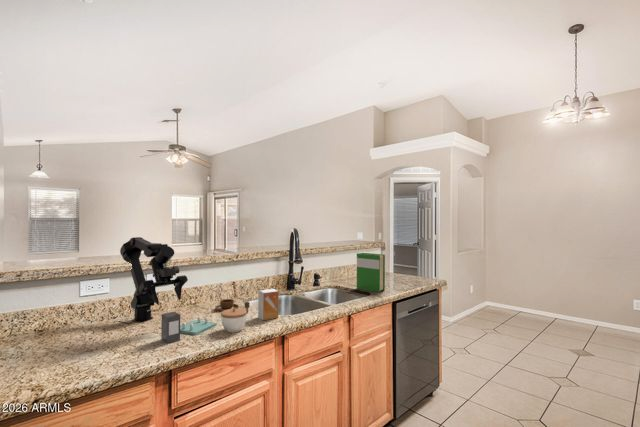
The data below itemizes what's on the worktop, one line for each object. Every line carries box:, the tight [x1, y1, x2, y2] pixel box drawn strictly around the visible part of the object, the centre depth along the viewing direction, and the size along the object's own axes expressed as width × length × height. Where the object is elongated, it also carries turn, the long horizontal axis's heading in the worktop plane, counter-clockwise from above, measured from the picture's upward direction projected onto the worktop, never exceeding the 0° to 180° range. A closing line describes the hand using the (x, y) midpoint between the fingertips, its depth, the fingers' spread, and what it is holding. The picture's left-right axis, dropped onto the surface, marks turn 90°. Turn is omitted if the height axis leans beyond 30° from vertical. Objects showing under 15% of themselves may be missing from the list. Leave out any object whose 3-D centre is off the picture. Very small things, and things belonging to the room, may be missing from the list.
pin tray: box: [180, 315, 217, 336], centre depth 141 cm, size 12×13×4 cm
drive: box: [160, 311, 181, 344], centre depth 127 cm, size 6×5×10 cm
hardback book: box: [356, 252, 386, 293], centre depth 220 cm, size 18×7×24 cm, turn 50°
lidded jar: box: [220, 307, 248, 333], centre depth 139 cm, size 11×11×9 cm
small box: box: [257, 288, 280, 321], centre depth 157 cm, size 8×6×13 cm
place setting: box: [210, 298, 250, 314], centre depth 168 cm, size 18×20×6 cm
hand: (169, 301), depth 136 cm, fingers open, 9 cm apart
